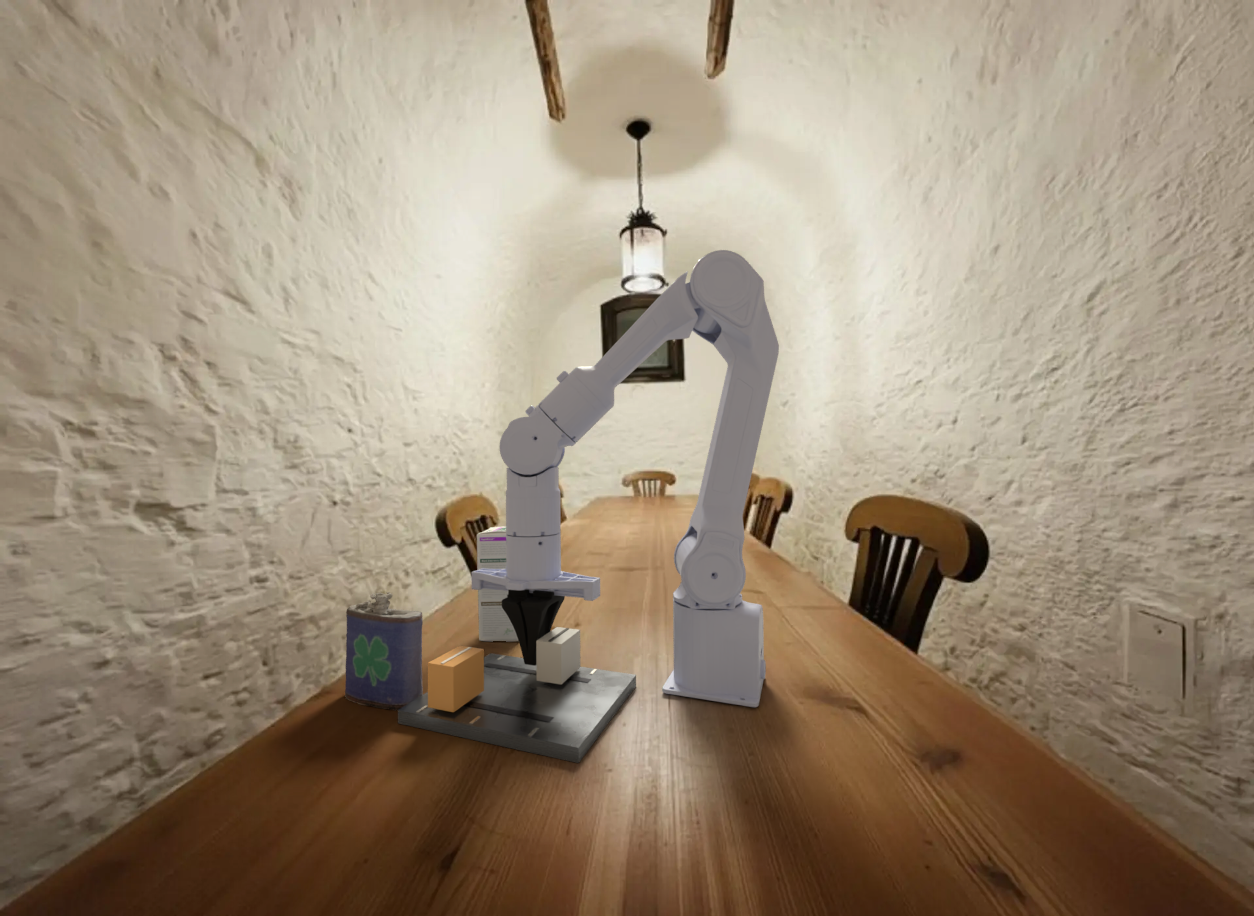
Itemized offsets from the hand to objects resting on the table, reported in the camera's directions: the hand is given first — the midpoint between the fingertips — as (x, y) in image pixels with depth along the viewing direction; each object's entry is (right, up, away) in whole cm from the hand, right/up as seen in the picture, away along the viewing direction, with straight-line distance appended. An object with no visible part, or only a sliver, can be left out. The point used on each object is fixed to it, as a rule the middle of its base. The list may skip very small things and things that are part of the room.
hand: (534, 661), depth 53 cm
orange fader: (-6, -1, -6) cm, 9 cm away
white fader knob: (+3, -1, -1) cm, 3 cm away
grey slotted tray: (0, -2, -4) cm, 5 cm away
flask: (-15, -3, -3) cm, 15 cm away
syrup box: (-7, -3, +15) cm, 17 cm away
